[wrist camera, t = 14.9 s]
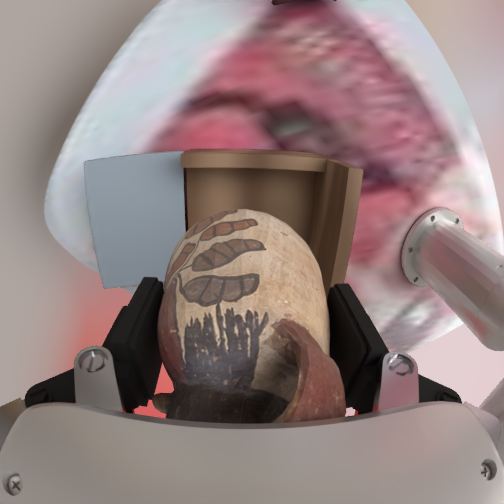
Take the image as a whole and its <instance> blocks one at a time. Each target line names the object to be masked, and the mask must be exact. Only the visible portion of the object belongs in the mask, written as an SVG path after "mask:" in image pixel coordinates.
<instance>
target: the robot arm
mask: <svg viewBox="0 0 504 504" xmlns="http://www.w3.org/2000/svg"><path fill="white" fill-rule="evenodd" d="M401 260H402V268H403V272H404V274H405V276H406V277H407V278H408V280H409V281H410V282H411V283H413V284H414V285H416V286H420V287H428V286H430V287H431V288H432V289H433V290H434V291H435V292H436V293H437V294H438V295H439V296H440V297H441V298H442V299H443V300H444V301H445V302H446V304H447V305H448V306H449V307H450V308H451V309H452V310H453V311H454V312H455V313H456V314H457V315H458V317H459V318H460V319H461V320H462V321H463V322H464V323H465V324H466V325H467V327H468V328H469V329H470V330H471V331H472V332H473V333H474V335H475V336H476V337H477V338H478V339H479V340H480V342H481V343H482V344H483V345H484V346H486V347H487V348H489V349H491V350H495V351H504V256H503V255H501V254H500V253H498V252H497V251H496V250H494V249H493V248H491V247H490V246H488V245H487V244H485V243H484V242H482V241H481V240H479V239H478V238H476V237H475V236H473V235H472V234H470V233H469V232H467V231H465V230H464V226H463V222H462V220H461V218H460V217H459V216H458V214H457V213H455V212H454V211H452V210H450V209H448V208H443V207H440V208H435V209H432V210H429V211H428V212H426V213H425V214H423V215H422V216H421V217H420V218H419V219H418V220H417V221H416V223H415V224H414V225H413V226H412V228H411V230H410V231H409V233H408V235H407V237H406V240H405V242H404V246H403V249H402V256H401ZM163 295H164V290H163V283H162V281H159V280H158V278H157V277H143V279H142V281H141V283H140V284H139V286H138V288H137V290H136V292H135V293H134V295H133V297H132V299H131V301H130V303H129V304H128V306H124V307H123V308H122V309H121V311H120V313H119V315H118V316H117V318H116V320H115V322H114V324H113V326H112V328H111V329H110V331H109V333H108V335H107V337H106V339H105V341H104V343H103V345H102V347H101V346H90V347H87V348H85V349H83V350H81V351H80V352H79V353H78V354H77V356H76V357H75V360H74V368H73V369H71V370H69V371H66V372H64V373H62V374H59V375H57V376H55V377H52V378H50V379H48V380H45V381H43V382H40V383H38V384H36V385H34V386H32V387H31V388H30V389H29V390H28V391H27V393H26V395H25V399H24V400H22V399H21V398H18V399H16V400H14V401H12V402H9V403H7V404H5V405H3V406H1V407H0V504H504V378H503V379H502V381H501V382H500V383H499V384H498V385H497V387H496V388H495V389H494V390H493V391H492V392H491V394H490V395H489V396H488V397H487V398H486V399H485V401H484V402H483V403H482V404H481V405H480V407H479V408H477V407H475V406H473V405H471V404H469V403H467V402H464V403H463V404H462V402H461V398H460V397H459V395H458V394H457V393H456V392H455V391H454V390H452V389H450V388H448V387H445V386H443V385H441V384H439V383H437V382H434V381H432V380H430V379H428V378H425V377H423V376H421V375H419V374H418V367H417V363H416V362H415V360H414V359H413V358H412V357H411V356H409V355H408V354H406V353H403V352H399V351H393V352H389V351H388V349H387V347H386V345H385V344H384V342H383V340H382V338H381V336H380V335H379V333H378V331H377V329H376V328H375V326H374V324H373V323H372V321H371V319H370V317H369V316H368V315H367V313H366V311H365V310H364V308H363V306H362V305H361V303H360V301H359V300H358V298H357V297H356V295H355V293H354V292H353V290H352V288H351V287H350V285H349V284H338V283H336V284H335V285H334V287H330V289H329V293H328V298H327V305H328V310H329V318H330V343H329V350H330V358H332V359H333V360H334V362H335V363H336V365H337V367H338V368H339V371H340V375H341V379H342V382H343V386H344V393H345V403H346V408H349V407H353V409H355V415H354V416H347V417H340V418H332V419H324V420H314V421H303V422H289V423H264V424H233V423H209V422H195V421H183V420H174V419H166V418H158V417H151V416H145V415H138V414H135V412H134V409H135V408H137V407H139V405H140V406H146V407H147V404H148V400H149V399H150V400H152V399H153V395H154V393H155V389H156V384H157V381H158V377H159V373H160V369H161V365H162V359H161V355H160V350H159V344H158V338H157V323H158V316H159V311H160V307H161V302H162V298H163Z"/></svg>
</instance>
